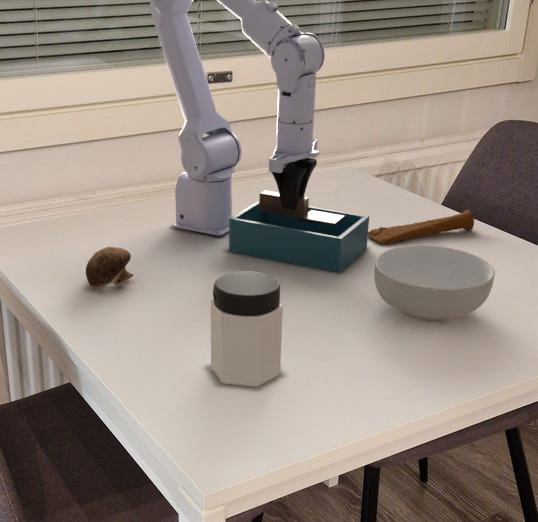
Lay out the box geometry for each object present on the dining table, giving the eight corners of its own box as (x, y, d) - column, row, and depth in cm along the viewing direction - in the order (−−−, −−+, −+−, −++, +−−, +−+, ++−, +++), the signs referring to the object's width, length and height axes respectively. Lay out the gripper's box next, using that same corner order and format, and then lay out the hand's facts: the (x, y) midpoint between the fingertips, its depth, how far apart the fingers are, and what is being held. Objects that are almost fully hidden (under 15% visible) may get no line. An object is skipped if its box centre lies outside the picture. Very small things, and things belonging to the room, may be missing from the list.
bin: (228, 251, 159) (228, 218, 156) (261, 229, 168) (262, 197, 165) (338, 272, 152) (341, 239, 149) (366, 248, 162) (369, 216, 159)
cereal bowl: (414, 344, 131) (420, 295, 127) (349, 300, 143) (352, 254, 139) (511, 322, 137) (520, 275, 133) (441, 282, 150) (447, 238, 146)
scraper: (255, 213, 158) (255, 195, 156) (267, 205, 161) (268, 187, 160) (334, 227, 153) (335, 208, 151) (345, 219, 156) (346, 200, 155)
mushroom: (152, 261, 145) (125, 229, 142) (128, 297, 141) (99, 265, 138) (120, 273, 151) (93, 243, 148) (96, 308, 147) (68, 278, 144)
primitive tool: (380, 244, 163) (382, 224, 161) (365, 234, 167) (366, 214, 165) (476, 233, 169) (479, 213, 167) (459, 223, 173) (462, 204, 172)
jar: (243, 350, 128) (245, 264, 121) (291, 370, 123) (296, 281, 117) (197, 373, 122) (196, 284, 115) (246, 394, 118) (248, 303, 111)
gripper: (300, 133, 142) (296, 223, 150) (336, 113, 153) (331, 198, 161) (257, 127, 145) (255, 215, 152) (296, 108, 156) (292, 191, 163)
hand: (291, 206), depth 157 cm, fingers closed on scraper, 2 cm apart
